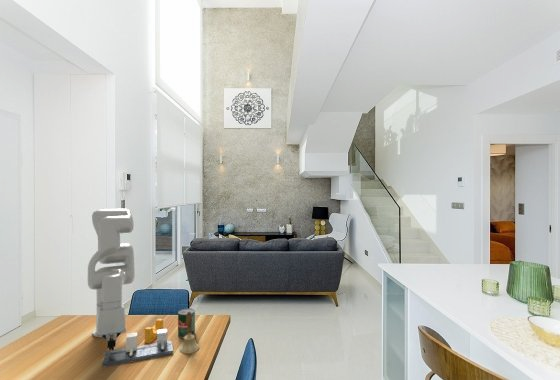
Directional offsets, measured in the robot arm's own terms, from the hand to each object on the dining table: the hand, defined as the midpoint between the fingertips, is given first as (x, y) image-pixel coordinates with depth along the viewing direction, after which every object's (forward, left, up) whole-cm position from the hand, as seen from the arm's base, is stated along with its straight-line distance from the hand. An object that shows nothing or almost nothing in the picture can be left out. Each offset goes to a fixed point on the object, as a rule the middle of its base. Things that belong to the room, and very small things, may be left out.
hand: (111, 348), depth 130 cm
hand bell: (+5, +31, -4) cm, 31 cm away
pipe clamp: (-14, +16, -4) cm, 21 cm away
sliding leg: (+2, +8, -2) cm, 8 cm away
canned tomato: (-10, +31, -4) cm, 33 cm away
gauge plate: (+2, +11, -3) cm, 11 cm away
